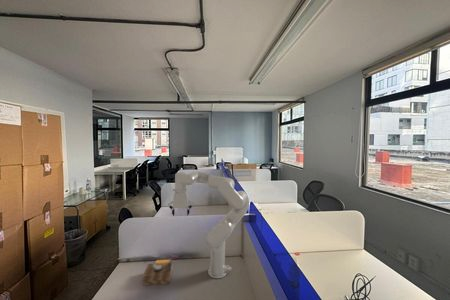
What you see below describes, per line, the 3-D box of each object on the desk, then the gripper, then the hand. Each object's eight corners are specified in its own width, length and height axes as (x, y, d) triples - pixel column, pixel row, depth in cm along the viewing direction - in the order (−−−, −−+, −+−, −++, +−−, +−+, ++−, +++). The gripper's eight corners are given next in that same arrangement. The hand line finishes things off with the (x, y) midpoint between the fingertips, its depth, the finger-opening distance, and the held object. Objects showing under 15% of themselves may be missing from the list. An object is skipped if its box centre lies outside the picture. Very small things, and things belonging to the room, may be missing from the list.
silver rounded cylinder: (164, 273, 138) (164, 260, 138) (162, 280, 132) (162, 266, 132) (154, 274, 138) (154, 261, 137) (152, 280, 132) (152, 266, 131)
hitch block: (172, 271, 142) (172, 255, 141) (170, 283, 130) (170, 266, 129) (147, 272, 140) (147, 256, 139) (143, 285, 128) (142, 268, 127)
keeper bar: (171, 261, 137) (171, 259, 137) (170, 264, 134) (170, 262, 134) (156, 262, 136) (156, 260, 135) (155, 264, 133) (155, 262, 133)
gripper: (167, 192, 140) (167, 217, 141) (193, 191, 142) (193, 216, 143) (168, 189, 147) (168, 213, 148) (193, 189, 149) (193, 212, 151)
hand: (180, 215), depth 146 cm, fingers open, 9 cm apart
